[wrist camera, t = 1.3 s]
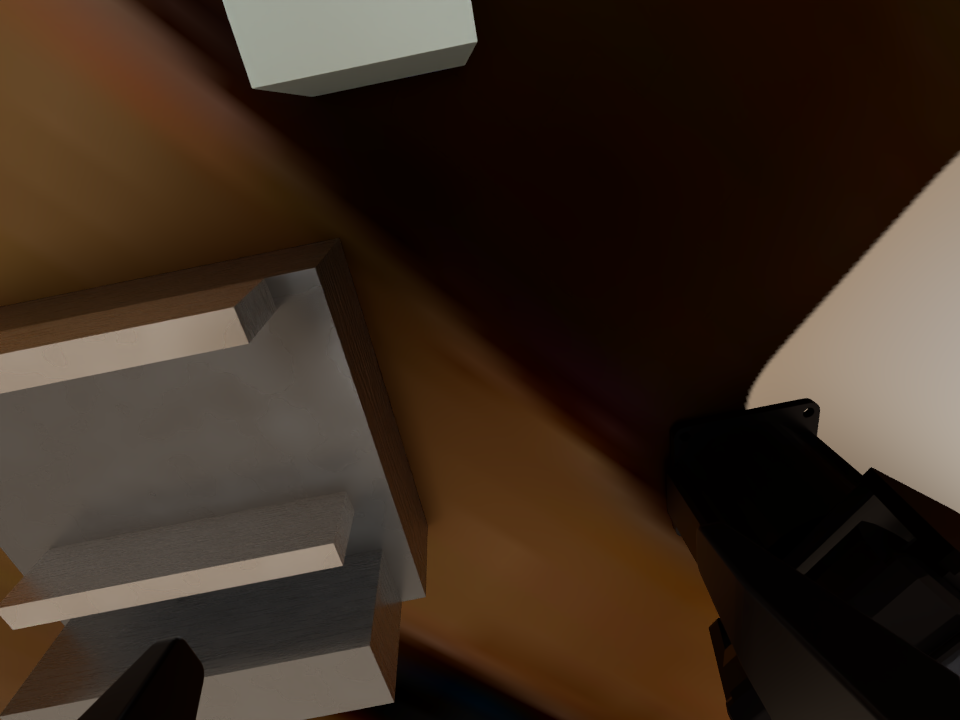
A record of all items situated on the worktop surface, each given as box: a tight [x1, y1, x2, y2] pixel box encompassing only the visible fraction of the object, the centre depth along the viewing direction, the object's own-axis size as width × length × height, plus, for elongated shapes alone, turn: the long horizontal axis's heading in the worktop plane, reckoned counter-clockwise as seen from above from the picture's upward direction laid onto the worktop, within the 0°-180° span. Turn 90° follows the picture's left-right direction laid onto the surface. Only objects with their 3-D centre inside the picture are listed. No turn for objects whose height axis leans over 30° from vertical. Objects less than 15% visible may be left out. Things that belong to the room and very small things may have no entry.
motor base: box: [0, 238, 428, 720], centre depth 18 cm, size 14×14×8 cm
